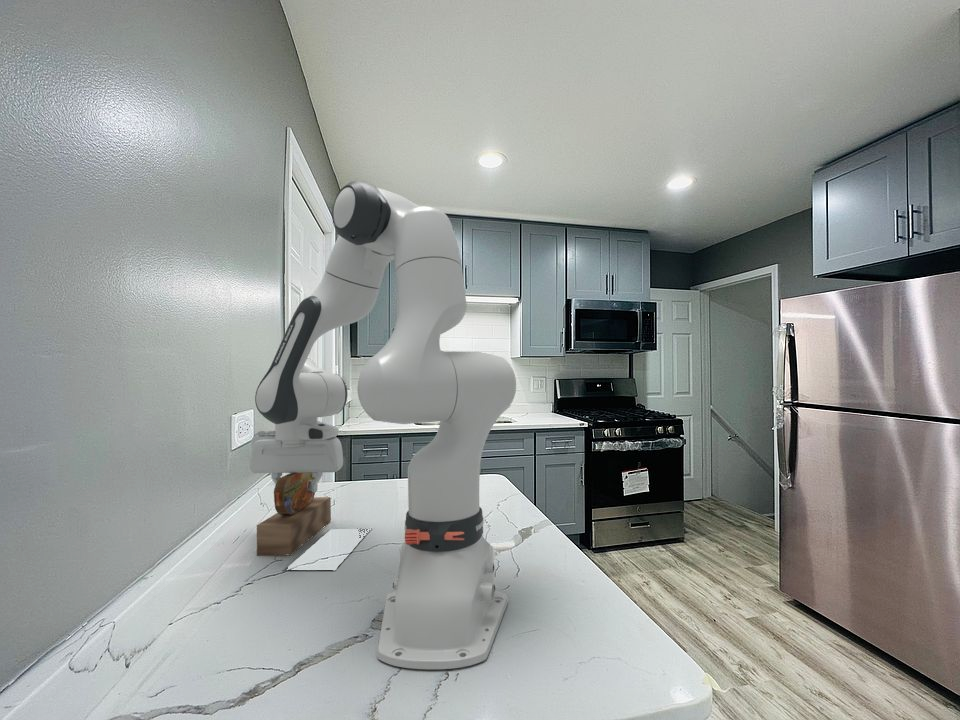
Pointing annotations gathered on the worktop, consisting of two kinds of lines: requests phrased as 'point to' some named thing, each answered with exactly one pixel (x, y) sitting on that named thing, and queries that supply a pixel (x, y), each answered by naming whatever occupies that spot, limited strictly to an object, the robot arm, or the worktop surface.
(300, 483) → the tin
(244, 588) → the worktop surface
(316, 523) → the block
